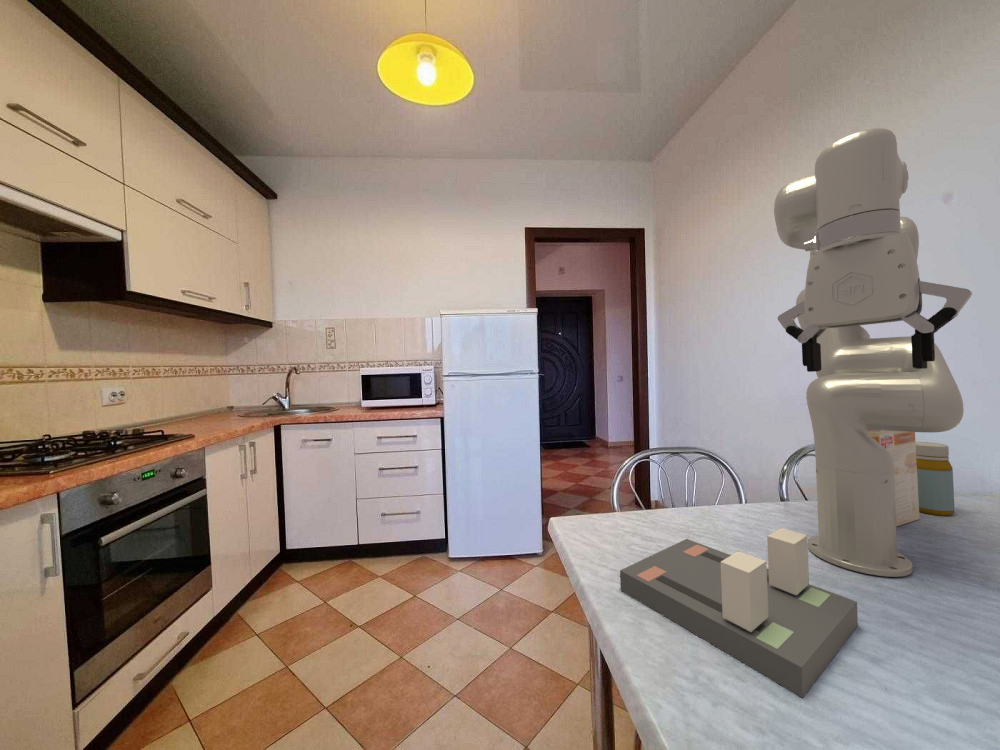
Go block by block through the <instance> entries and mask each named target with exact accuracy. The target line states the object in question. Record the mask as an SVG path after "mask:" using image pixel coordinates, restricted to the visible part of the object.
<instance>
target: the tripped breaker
mask: <svg viewBox="0 0 1000 750" xmlns="http://www.w3.org/2000/svg"><path fill="white" fill-rule="evenodd" d="M730 555H731V556H729V557H728V558H726V559H724V560H723V561H721V586H722V612H723V618H725V619H727V620H729V621H730V622H732V623H734V624H736V625H738V626H740V627H742V628H744V629H746V630H748V631H750V632H752V631H753V630H754V629H756V628H757V627H758V626H759V625H760V624H761V623H762V622H763V621H765V620H766V619H767V618H768V591H767V569H768V567H767V560H764V559H761V558H759V557H756V556H754V555H751V554H747V553H744V552H742V551H736V552H734V553H733V554H730Z"/></svg>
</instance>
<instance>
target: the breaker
mask: <svg viewBox="0 0 1000 750" xmlns="http://www.w3.org/2000/svg"><path fill="white" fill-rule="evenodd" d="M766 536H767V538H766V539H767V540H766V541H767V561H768V563H767V564H768V567H767V569H769V585H772V586H774V587H777V588H779V589H782V590H784V591H787V592H789V593H792V594H794V595H797V594H799V593H800V592H801V591H802V590H803V589H804V588H805V587H806V586H808V585H809V584H810V572H809V571H810V570H809V548H808V534H804V533H801V532H797V531H793V530H790V529H786V528H782V527H780V528H778V529H776V530H775V531H774V532H772V533H770V534H768V535H766Z"/></svg>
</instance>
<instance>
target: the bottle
mask: <svg viewBox="0 0 1000 750" xmlns="http://www.w3.org/2000/svg"><path fill="white" fill-rule="evenodd" d="M915 442H916V461H917V479H918V499H919V513H921V514H926V515H930V516H931V515H932V516H940V517H947V516H948V517H949V516H951V515H953V514H955V509H956V508H955V493H954V490H955V489H954V469H953V466H952V464H951V462H950V461H949V460H950V456H949V455H950V451H949V450H950V449H949V448H950V447H949V445H948V444H945V443H939V442H937V443H936V442H928V441H915Z"/></svg>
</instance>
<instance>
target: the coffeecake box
mask: <svg viewBox="0 0 1000 750" xmlns="http://www.w3.org/2000/svg"><path fill="white" fill-rule="evenodd" d="M868 434H869V435H870V436H871V437H872V438H873V439H874V440H876V441H877V442H878V443H879V444H881V445H882V446H883V447H884V448H885V449H886V450H887V451H888V452H889V454H890V456H891V457H892V460H893V466H894V488H895V511H896V527H900V526H902V525H903V526H904V525H905V524H909V523H912V522H915V521H918V520H920V519H921V517H920V512H919V499H918V479H917V461H916V442H917V441H916V432H904V431H883V430H880V431H869V432H868Z"/></svg>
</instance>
